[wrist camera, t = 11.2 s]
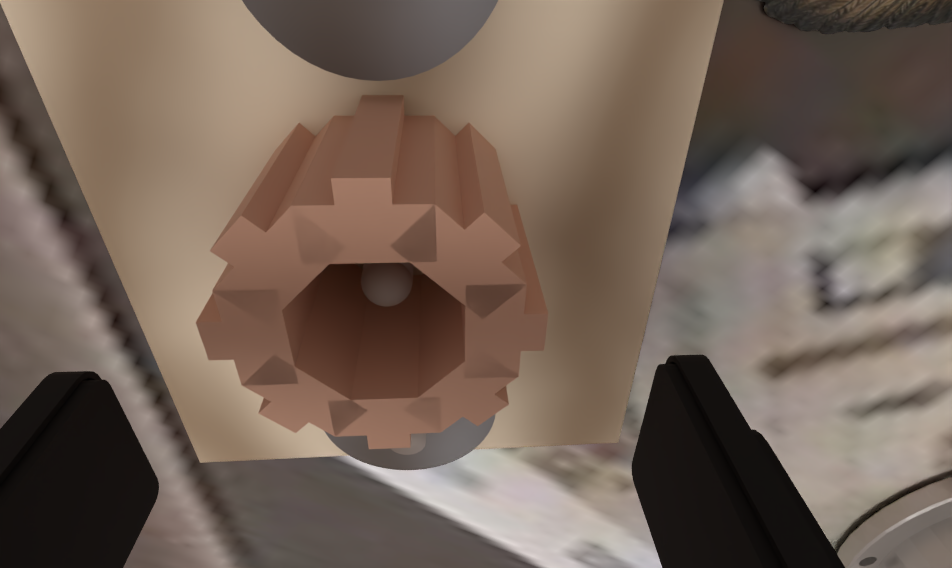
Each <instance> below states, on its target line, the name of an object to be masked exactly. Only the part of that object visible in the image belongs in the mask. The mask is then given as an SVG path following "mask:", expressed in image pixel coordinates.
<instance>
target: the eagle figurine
mask: <svg viewBox="0 0 952 568" xmlns="http://www.w3.org/2000/svg"><path fill="white" fill-rule="evenodd" d="M758 1H762V2H765V3H766V5H765V6H764V10H765V12H766V14H767V15H768V16H769V17H774V18H776V19H777V20H779V21H781V22H782V23H785V24H795V26H796V27H797V28H798V29H799V30H802V31H811V30H818V31H820V32H821V33H822V34H834V33H837V32H842V31H847V32H859V31H860V32H870V31H875V30H878V29H880V28H882V27H884V26H885V27H887V28H888V29H895V28H900V27H916V26H919V25H922V24H924V23H929V24H930V25H936V24H940V23H949V22H952V0H758Z"/></svg>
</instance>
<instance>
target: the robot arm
mask: <svg viewBox="0 0 952 568" xmlns="http://www.w3.org/2000/svg"><path fill="white" fill-rule="evenodd" d="M632 476H633V481H634V485H635V488H636V491H637V493H638V496H639V499H640V502H641V505H642V508H643V511H644V514H645V517H646V520H647V523H648V526H649V529H650V532H651V535H652V538H653V541H654V544H655V547H656V550H657V553H658V556H659V559H660V562H661V565H662V568H952V476H951V477H948V478H946V479H943V480H940V481H937V482H934V483H931V484H929V485H927V486H925V487H922V488H920V489H918V490H916V491H914V492H911V493H909V494H907V495H905V496H903V497H901V498H900V499H898V500H896V501H894V502H893V503H891V504H889V505H887V506H885V507H884V508H882V509H881V510H879V511H878V512H877V513H875V514H874V515H872V516H871V517H869V518H868V519H867V520H865V521H864V522H863V523H862V524H861V525H860V526H859V527H858V528H856V529H855V530H854V531H853V532H852V533H851V534H850V535H849V536H848V538H847V539H846V540H845V542H844V543H843V544H842V545H841V547H840V549H839V551H838V553H836V552H835V550H834V549H833V547H832V545H831V544H830V542H829V541H828V539H827V537H826V536H825V534H824V532H823V531H822V529H821V528H820V526H819V524H818V523H817V521H816V519H815V518H814V516H813V515H812V513H811V511H810V510H809V508H808V507H807V505H806V503H805V502H804V500H803V498H802V497H801V495H800V494H799V492H798V490H797V489H796V487H795V486H794V484H793V482H792V481H791V479H790V477H789V476H788V474H787V473H786V471H785V469H784V468H783V466H782V465H781V463H780V461H779V460H778V458H777V456H776V455H775V453H774V452H773V450H772V448H771V447H770V445H769V444H768V442H767V441H766V440H765V438H764V437H763V436H762V435H761V434H760V433H759V432H757V431H756V430H751V428H750V427H749V425H748V423H747V422H746V420H745V418H744V417H743V415H742V414H741V412H740V410H739V409H738V407H737V405H736V404H735V402H734V400H733V399H732V397H731V395H730V394H729V392H728V390H727V389H726V387H725V385H724V384H723V382H722V380H721V379H720V377H719V375H718V374H717V372H716V370H715V369H714V367H713V365H712V364H711V362H710V360H709V359H708V358H707V357H706V356H704V355H676V356H670V357H669V358H668V359H667V361H666V364H659V365H658V366H657V369H656V372H655V376H654V380H653V384H652V388H651V392H650V396H649V399H648V403H647V407H646V411H645V415H644V419H643V423H642V426H641V430H640V434H639V438H638V442H637V446H636V450H635V453H634V457H633V461H632ZM158 490H159V483H158V479H157V477H156V475H155V473H154V471H153V469H152V467H151V465H150V463H149V461H148V459H147V457H146V455H145V453H144V451H143V449H142V447H141V445H140V443H139V441H138V439H137V437H136V435H135V433H134V431H133V429H132V427H131V425H130V423H129V421H128V419H127V417H126V415H125V413H124V411H123V409H122V407H121V405H120V403H119V401H118V399H117V397H116V395H115V393H114V391H113V389H112V387H111V385H110V384H109V383H108V382H107V381H106V380H101V378H100V377H99V375H98V374H96V373H95V372H90V371H83V372H54V373H52V374H49V375H48V376H47V377H46V378H44V379H43V380H42V382H41V383H40V384H39V385H38V386H37V387H36V388H35V390H34V391H33V392H32V393H31V394H30V395H29V397H28V398H27V399H26V400H25V401H24V402H23V403H22V405H21V406H20V407H19V408H18V409H17V410H16V411H15V413H14V414H13V415H12V416H11V417H10V418H9V420H8V421H7V422H6V423H5V424H4V425H3V426H2V428H1V429H0V568H123V567H124V565H125V563H126V561H127V558H128V556H129V554H130V552H131V550H132V548H133V546H134V544H135V542H136V540H137V538H138V536H139V534H140V532H141V530H142V528H143V526H144V524H145V522H146V520H147V518H148V516H149V514H150V512H151V510H152V508H153V506H154V504H155V502H156V499H157V496H158Z"/></svg>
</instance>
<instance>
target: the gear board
mask: <svg viewBox="0 0 952 568" xmlns="http://www.w3.org/2000/svg"><path fill="white" fill-rule="evenodd" d="M723 1H724V0H0V3H1V6H2V8H3V10H4V12H5V15H6V17H7V19H8V22H9V24H10V26H11V29H12V31H13V33H14V35H15V38H16V40H17V42H18V45H19V47H20V49H21V52H22V54H23V56H24V58H25V61H26V63H27V65H28V68H29V70H30V72H31V75H32V77H33V79H34V81H35V84H36V86H37V88H38V91H39V93H40V95H41V98H42V100H43V102H44V104H45V107H46V109H47V111H48V114H49V116H50V118H51V120H52V123H53V125H54V127H55V130H56V132H57V134H58V137H59V139H60V141H61V143H62V146H63V148H64V150H65V153H66V155H67V157H68V160H69V162H70V164H71V166H72V169H73V171H74V173H75V176H76V178H77V180H78V183H79V185H80V187H81V189H82V192H83V194H84V196H85V199H86V201H87V203H88V206H89V208H90V210H91V212H92V215H93V217H94V219H95V222H96V224H97V226H98V229H99V231H100V233H101V235H102V238H103V240H104V242H105V245H106V247H107V249H108V252H109V254H110V256H111V258H112V261H113V263H114V265H115V268H116V270H117V272H118V275H119V277H120V279H121V281H122V284H123V286H124V288H125V291H126V293H127V295H128V298H129V300H130V302H131V304H132V307H133V309H134V311H135V314H136V316H137V318H138V321H139V323H140V325H141V327H142V330H143V332H144V334H145V337H146V339H147V341H148V344H149V346H150V348H151V350H152V353H153V355H154V357H155V360H156V362H157V364H158V366H159V369H160V371H161V373H162V376H163V378H164V380H165V383H166V385H167V387H168V389H169V392H170V394H171V396H172V399H173V401H174V403H175V406H176V408H177V410H178V412H179V415H180V417H181V419H182V422H183V424H184V426H185V429H186V431H187V433H188V435H189V438H190V440H191V442H192V445H193V447H194V449H195V452H196V454H197V456H198V458H199V461H200V463H201V462H222V461H243V460H263V459H284V458H305V457H326V456H347V455H350V456H351V457H353V458H355V459H357V460H360V461H362V462H364V463H367V464H370V465H374V466H378V467H382V468H388V469H396V470H418V469H426V468H432V467H437V466H440V465H444V464H447V463H449V462H452V461H455V460H457V459H459V458H461V457H463V456H464V455H466V454H468V453H469V452H471V451H472V450H473V449H493V448H514V447H535V446H556V445H577V444H598V443H618V442H619V437H620V433H621V429H622V425H623V421H624V416H625V412H626V408H627V404H628V400H629V395H630V391H631V387H632V383H633V379H634V374H635V370H636V366H637V362H638V358H639V353H640V349H641V345H642V341H643V337H644V332H645V328H646V324H647V320H648V316H649V311H650V307H651V303H652V299H653V295H654V290H655V286H656V282H657V278H658V274H659V269H660V265H661V261H662V257H663V253H664V248H665V244H666V240H667V236H668V232H669V227H670V223H671V219H672V215H673V211H674V206H675V202H676V198H677V194H678V190H679V185H680V181H681V177H682V173H683V169H684V164H685V160H686V156H687V152H688V148H689V144H690V139H691V135H692V131H693V127H694V123H695V118H696V114H697V110H698V106H699V102H700V97H701V93H702V89H703V85H704V81H705V76H706V72H707V68H708V64H709V60H710V55H711V51H712V47H713V43H714V39H715V34H716V30H717V26H718V22H719V18H720V13H721V9H722V5H723ZM362 95H403V97H404V115H405V116H435V117H436V118H437V119H438V120H439V121H440V122H441V123H442V124H443V125H444V126H446V127H447V128H448V129H449V130H450V131H451V132H452V133H453V134H454V135H455V136H456V135H457V134H458V133H459V132H460V131H461V130H462V129H463V128H464V127H465V126H466V125H467V124H468V123H470V124H471V125H472V126H473V127H474V128H475V129H476V130H477V131H478V132H479V133H480V134H481V135H482V136H483V137H484V138H485V139H486V140H487V141H488V142H489V143H490V144H491V145H492V146H493V147H494V148H495V149H496V152H497V156H498V160H499V164H500V167H501V171H502V175H503V179H504V183H505V186H506V190H507V194H508V198H509V202H510V205H517V206H518V209H519V213H520V216H521V220H522V223H523V227H524V230H525V234H526V237H527V241H528V244H529V248H530V251H531V255H532V258H533V262H534V265H535V269H536V272H537V276H538V279H539V283H540V286H541V290H542V293H543V297H544V300H545V304H546V307H547V310H548V321H547V330H546V338H545V347H544V351H521V356H520V368H519V377H517V378H516V379H515V380H513V381H512V382H510V383H509V384H508V385H506V389H507V395H508V402H509V405H507V406H506V407H505V408H503V409H502V410H500V411H499V412H497V413H496V414H495V415H493V416H492V417H490V418H489V419H487V420H486V421H485V422H483V423H482V424H480V425H479V426H476V425H475V424H473V423H472V422H470V421H469V420H467V419H466V418H464V417H462V418H460V419H459V420H458V421H456V422H455V423H453V424H452V425H451V426H449V427H448V428H446V429H445V430H444V431H442V432H441V433H417V434H411V447H410V448H388V449H369V447H368V440H367V435H366V436H340V437H335V436H333V435H331V434H329V433H327V432H325V431H324V430H322V429H320V428H318V427H316V426H315V425H313V424H311V423H307V424H306V425H305V426H304V427H303V428H301V429H300V430H299V431H298V432H297V433H294V432H292V431H290V430H289V429H287V428H285V427H283V426H281V425H279V424H277V423H275V422H274V421H272V420H270V419H268V418H266V417H264V416H262V415H260V414H258V413H259V410H260V407H261V404H262V401H263V398H264V397H262V396H260V395H258V394H256V393H254V392H253V391H251V390H249V389H247V388H245V387H243V386H242V385H241V382H240V379H239V375H238V372H237V369H236V366H235V363H234V360H208V357H207V354H206V351H205V348H204V345H203V342H202V339H201V337H200V334H199V331H198V328H197V325H196V321H197V319H198V317H199V316H200V314H201V312H202V310H203V309H204V307H205V305H206V303H207V302H208V300H209V298H210V296H211V295H212V293H213V292H212V290H213V288H214V287H215V285H216V283H217V281H218V280H219V278H220V276H221V274H222V273H223V271H224V269H225V267H226V266H227V264H228V263H227V262H226V261H224V260H223V259H221V258H220V257H218V256H217V255H215V254H213V253H212V252H210V250H211V248H212V247H213V245H214V243H215V242H216V240H217V239H218V237H219V236H220V234H221V233H222V231H223V230H224V228H225V227H226V225H227V224H228V222H229V220H230V219H231V217H232V216H233V214H234V213H235V211H236V210H237V208H238V207H239V205H240V204H241V202H242V200H243V199H244V197H245V196H246V194H247V193H248V191H249V190H250V188H251V187H252V185H253V184H254V182H255V181H256V179H257V177H258V176H259V174H260V173H261V171H262V170H263V168H264V167H265V165H266V164H267V162H268V161H269V159H270V157H271V156H272V154H273V153H274V151H275V150H276V149H277V148H278V146H279V145H280V144H281V143H282V142H283V141H284V139H285V138H286V137H287V136H288V135H289V134H290V132H291V131H292V130H293V129H294V128H295V127H296V125H297V124H298V123H300V124H301V125H303V126H304V127H305V128H306V129H307V130H309V131H310V132H311V133H312V134H313V135H315V136H316V135H317V134H318V133H319V132H320V131H321V130H322V128H323V127H324V126H325V125H326V124H327V123H328V122H329V121H330V119H331V118H332V117H333V116H354V115H355V113H356V110H357V107H358V105H359V102H360V100H361V97H362ZM354 264H356V265H357V266H358V267H360V268H361V269H362V275H361V286H362V290H363V292H364V294H365V296H366V297H367V298H368V299H369V300H370V301H371V302H373V303H374V304H376V305H379V306H384V307H389V306H394V305H397V304H399V303H401V302H402V301H403V300H405V299H406V297H407V296H408V295H409V293H410V291H411V288H412V283H413V275H422V274H423V272H422V271H420V270H419V269H418V268H416V267H415V266H414V265H413V264H411V263H410V262H405V263H354Z"/></svg>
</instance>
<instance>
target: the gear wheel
mask: <svg viewBox="0 0 952 568" xmlns="http://www.w3.org/2000/svg"><path fill="white" fill-rule="evenodd" d="M210 252H212V253H213V254H215V255H217V256H218V257H220V258H221V259H223V260H224V261H226V262H227V263H228V264H227V266H226V267H225V269H224V271H223V273H222V274H221V276H220V278H219V280H218V281H217V283H216V285H215V287H214V288H213V290H212V292H213V293H212V295H211V296H210V298H209V300H208V302H207V303H206V305H205V307H204V309H203V310H202V312H201V314H200V316H199V317H198V319H197V321H196V325H197V328H198V331H199V334H200V337H201V339H202V342H203V345H204V348H205V351H206V354H207V357H208V360H234V363H235V366H236V369H237V372H238V375H239V379H240V382H241V385H242V386H243V387H245V388H247V389H249V390H251V391H253V392H254V393H256V394H258V395H260V396H262V397H264V398H263V401H262V404H261V407H260V410H259V413H258V414H260V415H262V416H264V417H266V418H268V419H270V420H272V421H274V422H275V423H277V424H279V425H281V426H283V427H285V428H287V429H289V430H290V431H292V432H294V433H297V432H298V431H299V430H300V429H301V428H303V427H304V426H305V425H306V424H307V423H311V424H313V425H315V426H316V427H318V428H320V429H322V430H324V431H325V432H327V433H329V434H331V435H333V436H335V437H340V436H366V435H367V440H368V447H369V449H388V448H410V447H411V434H417V433H441V432H442V431H444V430H445V429H446V428H448V427H449V426H451V425H452V424H453V423H455V422H456V421H458V420H459V419H460V418H462V417H464V418H466V419H467V420H469V421H470V422H472V423H473V424H475V425H476V426H479V425H480V424H482V423H483V422H485V421H486V420H487V419H489V418H490V417H492V416H493V415H495V414H496V413H497V412H499V411H500V410H502V409H503V408H505V407H506V406H507V405H509V402H508V395H507V389H506V385H508V384H509V383H510V382H512V381H513V380H515V379H516V378H517V377H519V368H520V356H521V351H544V347H545V338H546V330H547V321H548V310H547V307H546V304H545V300H544V297H543V293H542V290H541V286H540V283H539V279H538V276H537V272H536V269H535V265H534V262H533V258H532V255H531V251H530V248H529V244H528V241H527V237H526V234H525V230H524V227H523V223H522V220H521V216H520V213H519V209H518V206H517V205H510V202H509V198H508V194H507V190H506V186H505V183H504V179H503V175H502V171H501V167H500V164H499V160H498V156H497V152H496V149H495V148H494V147H493V146H492V145H491V144H490V143H489V142H488V141H487V140H486V139H485V138H484V137H483V136H482V135H481V134H480V133H479V132H478V131H477V130H476V129H475V128H474V127H473V126H472V125H471V124H470V123H468V124H467V125H466V126H465V127H464V128H463V129H462V130H461V131H460V132H459V133H458V134H457V135H456V136H455V135H454V134H453V133H452V132H451V131H450V130H449V129H448V128H447V127H446V126H444V125H443V124H442V123H441V122H440V121H439V120H438V119H437V118H436V117H435V116H405V115H404V97H403V95H362V97H361V100H360V102H359V105H358V107H357V110H356V113H355V115H354V116H333V117H332V118H331V119H330V121H329V122H328V123H327V124H326V125H325V126H324V127H323V128H322V130H321V131H320V132H319V133H318V134H317V135H316V136H315V135H313V134H312V133H311V132H310V131H309V130H307V129H306V128H305V127H304V126H303V125H301V124H300V123H298V124H297V125H296V127H295V128H294V129H293V130H292V131H291V132H290V134H289V135H288V136H287V137H286V138H285V139H284V141H283V142H282V143H281V144H280V145H279V146H278V148H277V149H276V150H275V151H274V153H273V154H272V156H271V157H270V159H269V161H268V162H267V164H266V165H265V167H264V168H263V170H262V171H261V173H260V174H259V176H258V177H257V179H256V181H255V182H254V184H253V185H252V187H251V188H250V190H249V191H248V193H247V194H246V196H245V197H244V199H243V200H242V202H241V204H240V205H239V207H238V208H237V210H236V211H235V213H234V214H233V216H232V217H231V219H230V220H229V222H228V224H227V225H226V227H225V228H224V230H223V231H222V233H221V234H220V236H219V237H218V239H217V240H216V242H215V243H214V245H213V247H212V248H211V250H210ZM405 262H410V263H411V264H413V265H414V266H415V267H416V268H418V269H419V270H420V271H422V272H423V274H422V275H413V283H412V288H411V291H410V293H409V295H408V296H407V297H406V299H405V300H403V301H402V302H401V303H399V304H397V305H394V306H389V307H384V306H379V305H376V304H374V303H373V302H371V301H370V300H369V299H368V298H367V297H366V296H365V294H364V292H363V290H362V286H361V275H362V269H361V268H360V267H358V266H357V265H356V264H354V263H405Z"/></svg>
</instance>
